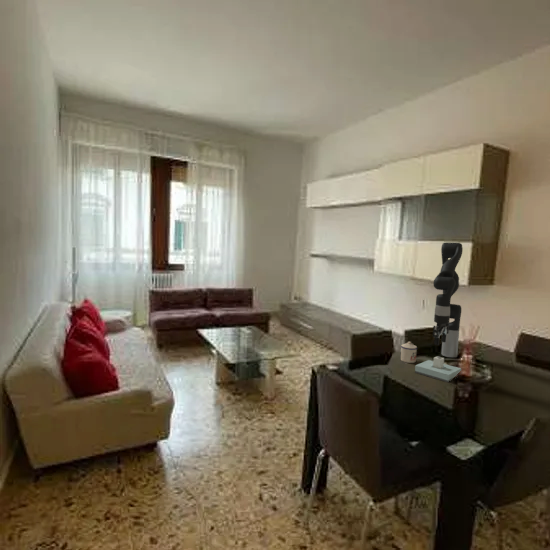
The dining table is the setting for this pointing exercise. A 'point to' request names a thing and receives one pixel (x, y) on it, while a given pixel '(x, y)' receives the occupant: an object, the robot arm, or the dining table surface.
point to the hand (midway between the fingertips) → (440, 343)
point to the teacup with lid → (408, 352)
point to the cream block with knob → (438, 362)
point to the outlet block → (437, 371)
